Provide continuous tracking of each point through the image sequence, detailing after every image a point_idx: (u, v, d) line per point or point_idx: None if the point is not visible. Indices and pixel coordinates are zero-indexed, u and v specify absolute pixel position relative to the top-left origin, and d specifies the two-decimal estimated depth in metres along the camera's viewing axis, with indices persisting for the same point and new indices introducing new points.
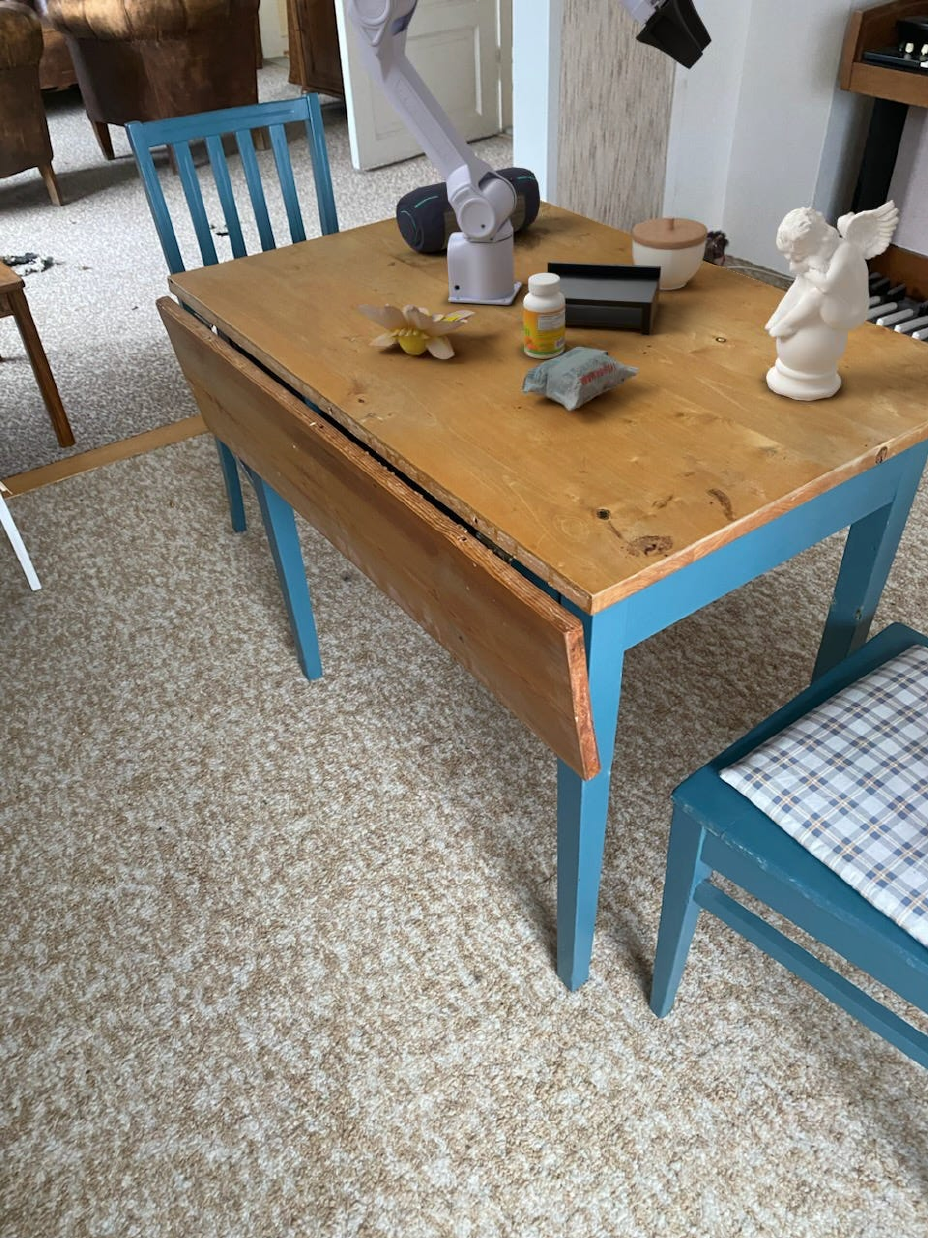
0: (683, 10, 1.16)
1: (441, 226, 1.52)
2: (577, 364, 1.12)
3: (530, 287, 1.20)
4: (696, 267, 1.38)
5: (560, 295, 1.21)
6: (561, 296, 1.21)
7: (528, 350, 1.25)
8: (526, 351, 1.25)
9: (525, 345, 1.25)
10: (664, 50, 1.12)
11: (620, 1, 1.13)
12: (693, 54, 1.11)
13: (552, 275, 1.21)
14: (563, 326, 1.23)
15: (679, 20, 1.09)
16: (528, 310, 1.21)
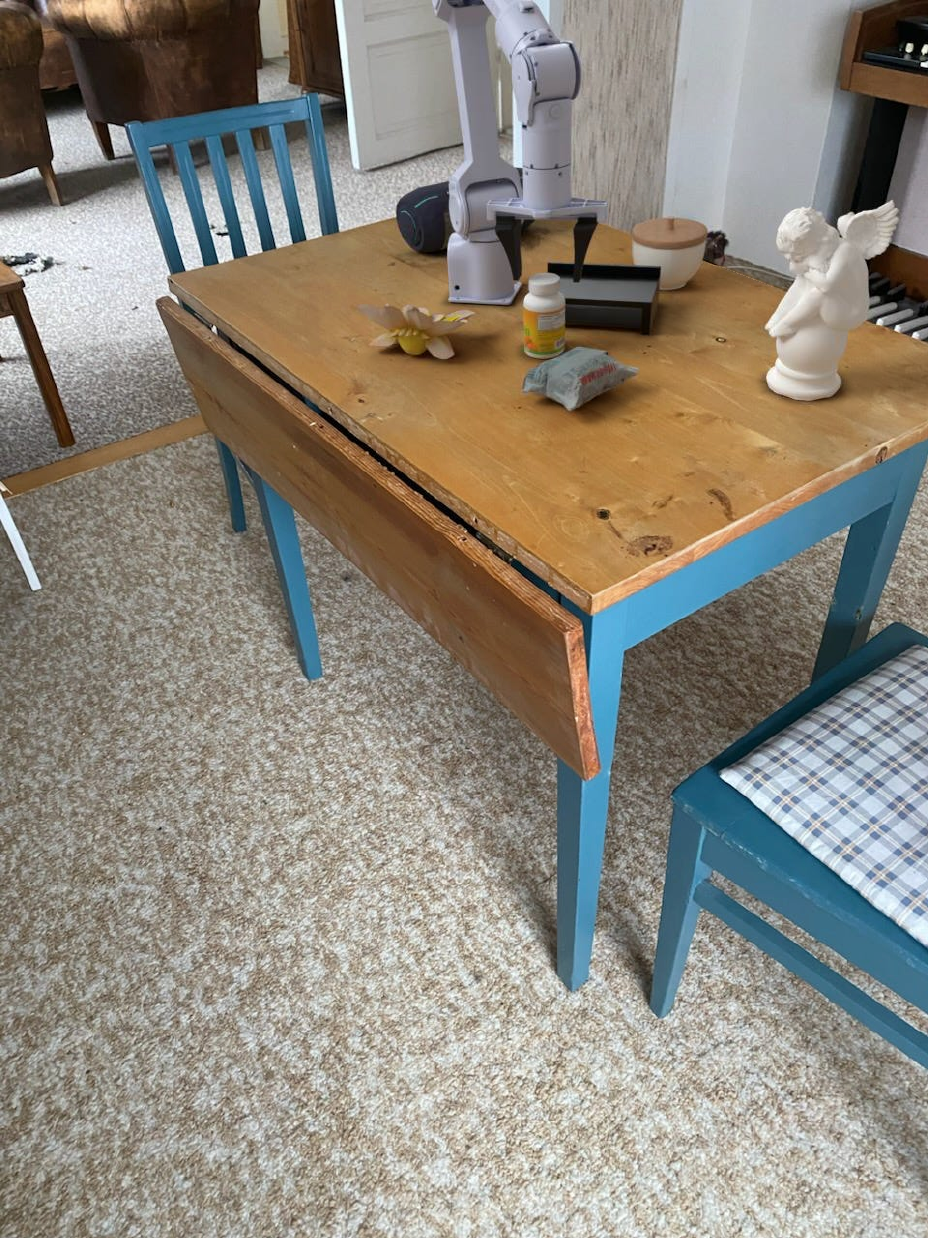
0: None
1: (441, 226, 1.52)
2: (577, 364, 1.12)
3: (530, 287, 1.20)
4: (696, 267, 1.38)
5: (560, 295, 1.21)
6: (561, 296, 1.21)
7: (528, 350, 1.25)
8: (526, 351, 1.25)
9: (525, 345, 1.25)
10: None
11: None
12: None
13: (552, 275, 1.21)
14: (563, 326, 1.23)
15: (502, 245, 1.17)
16: (528, 310, 1.21)
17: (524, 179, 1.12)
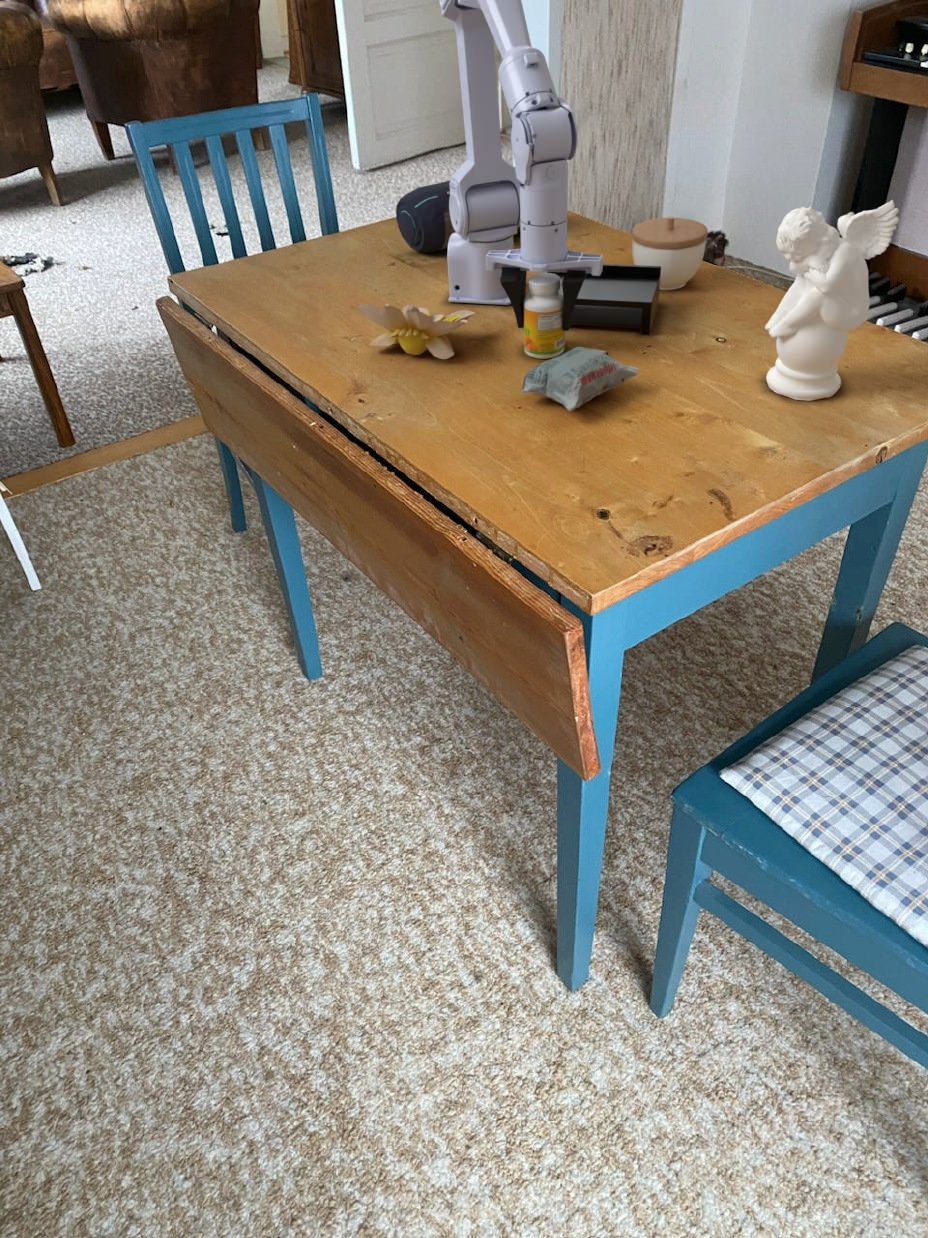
0: None
1: (441, 226, 1.52)
2: (577, 364, 1.12)
3: (530, 287, 1.20)
4: (696, 267, 1.38)
5: (560, 295, 1.21)
6: (561, 296, 1.21)
7: (528, 350, 1.25)
8: (526, 351, 1.25)
9: (525, 345, 1.25)
10: None
11: None
12: None
13: (553, 275, 1.21)
14: None
15: (507, 295, 1.21)
16: (528, 310, 1.21)
17: (522, 234, 1.16)
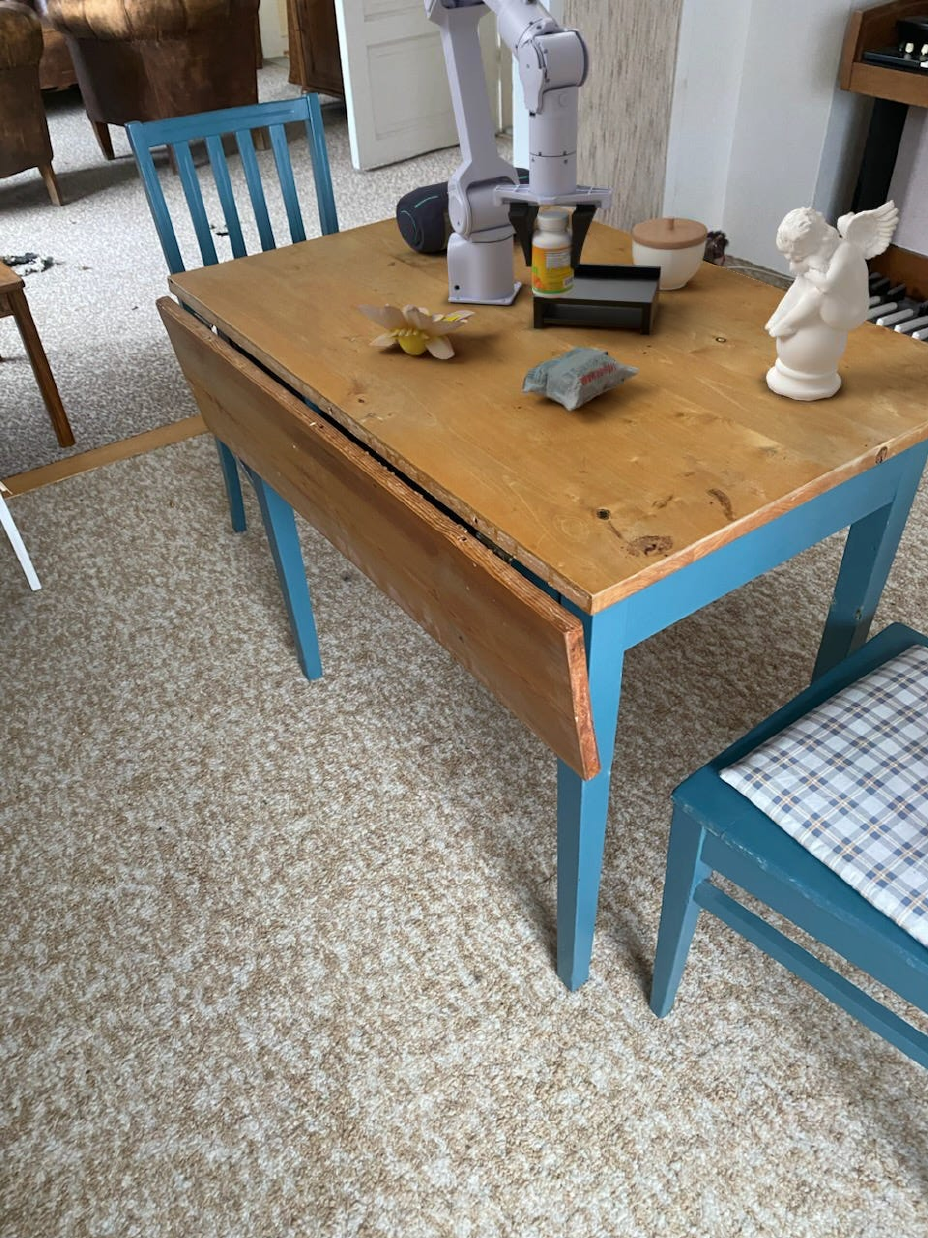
0: None
1: (441, 226, 1.52)
2: (577, 364, 1.12)
3: (539, 223, 1.18)
4: (696, 267, 1.38)
5: (569, 231, 1.19)
6: (570, 232, 1.19)
7: (536, 289, 1.22)
8: (534, 290, 1.23)
9: (533, 284, 1.23)
10: None
11: None
12: None
13: (561, 211, 1.18)
14: None
15: (515, 231, 1.19)
16: (536, 247, 1.19)
17: (530, 166, 1.14)
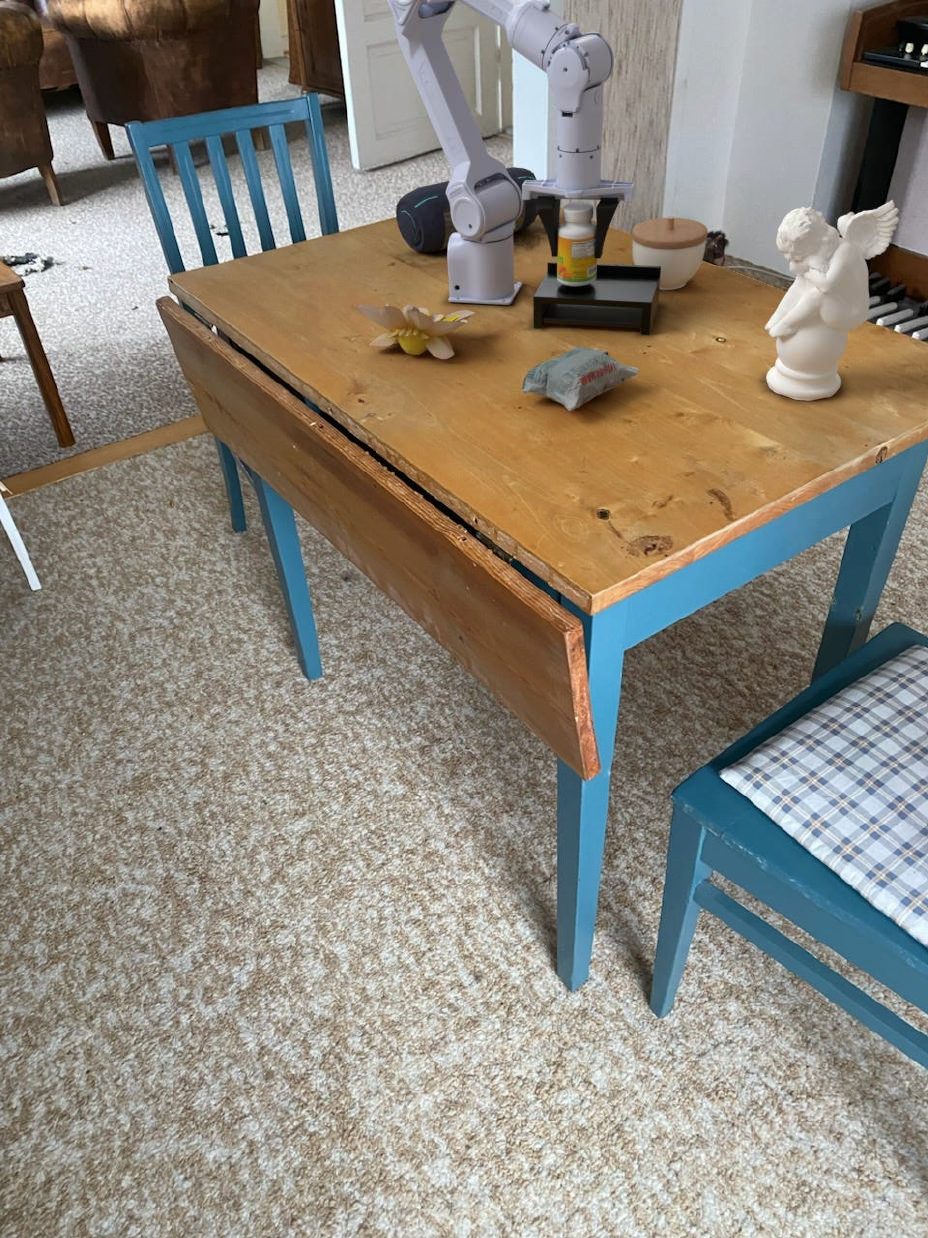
0: None
1: (441, 226, 1.52)
2: (577, 364, 1.12)
3: (565, 215, 1.25)
4: (696, 267, 1.38)
5: (593, 223, 1.26)
6: (594, 224, 1.26)
7: (561, 278, 1.30)
8: (559, 279, 1.30)
9: (558, 273, 1.30)
10: None
11: None
12: None
13: (586, 204, 1.26)
14: None
15: None
16: (562, 238, 1.26)
17: (558, 161, 1.21)
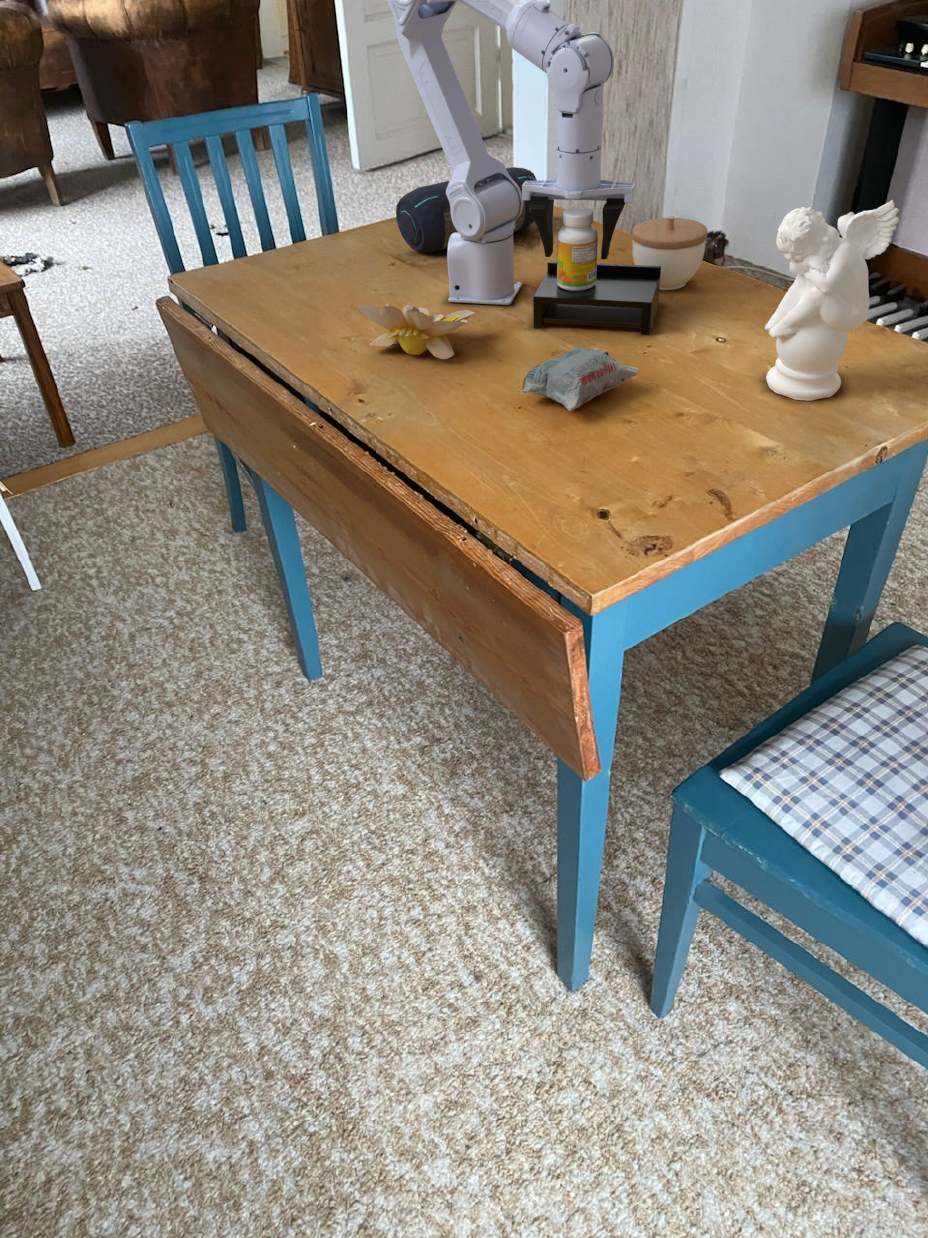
0: None
1: (441, 226, 1.52)
2: (577, 364, 1.12)
3: (565, 220, 1.25)
4: (696, 267, 1.38)
5: (593, 228, 1.27)
6: (594, 229, 1.26)
7: (561, 282, 1.30)
8: (559, 284, 1.31)
9: (558, 278, 1.30)
10: None
11: None
12: None
13: (586, 208, 1.26)
14: (595, 259, 1.28)
15: (536, 224, 1.26)
16: (562, 243, 1.27)
17: (558, 162, 1.21)
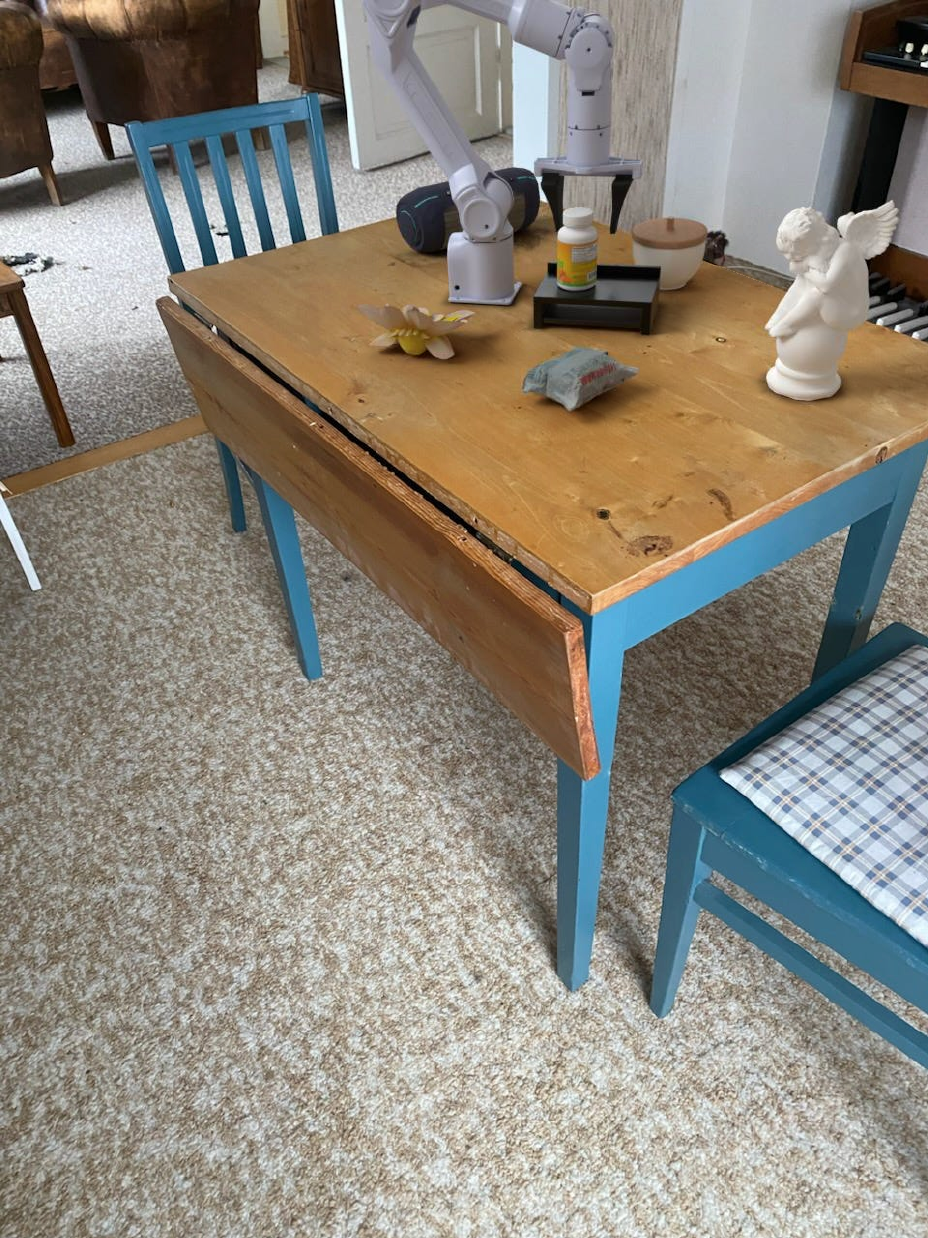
0: None
1: (441, 226, 1.52)
2: (577, 364, 1.12)
3: (565, 220, 1.25)
4: (696, 267, 1.38)
5: (593, 228, 1.27)
6: (594, 229, 1.26)
7: (561, 282, 1.30)
8: (559, 284, 1.31)
9: (558, 278, 1.30)
10: None
11: None
12: None
13: (586, 208, 1.26)
14: (595, 259, 1.28)
15: (547, 199, 1.31)
16: (562, 243, 1.27)
17: (568, 139, 1.26)
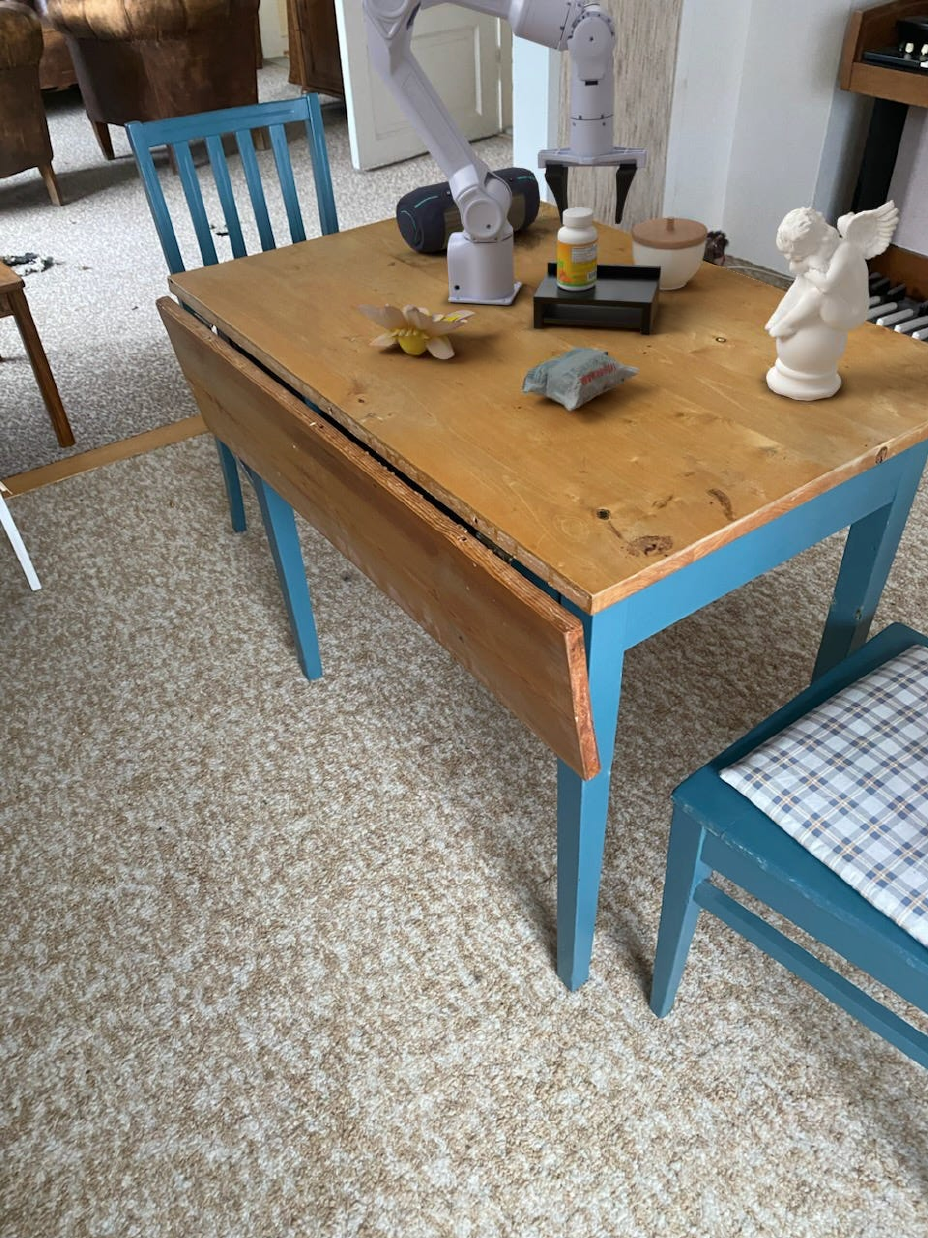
0: None
1: (441, 226, 1.52)
2: (577, 364, 1.12)
3: (565, 220, 1.25)
4: (696, 267, 1.38)
5: (593, 228, 1.27)
6: (594, 229, 1.26)
7: (561, 282, 1.30)
8: (559, 284, 1.31)
9: (558, 278, 1.30)
10: None
11: None
12: None
13: (586, 208, 1.26)
14: (595, 259, 1.28)
15: None
16: (562, 243, 1.27)
17: (571, 129, 1.25)
